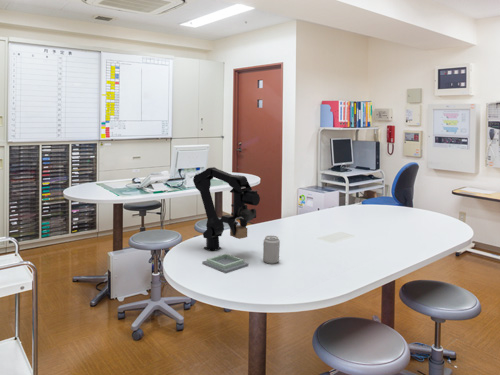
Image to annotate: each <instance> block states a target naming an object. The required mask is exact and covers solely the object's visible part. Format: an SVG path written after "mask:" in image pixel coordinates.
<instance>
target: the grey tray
mask: <svg viewBox="0 0 500 375" xmlns="http://www.w3.org/2000/svg"><path fill="white" fill-rule="evenodd" d="M201 262H202V263H201V264H202V265H204V266H207V267H210V268H211V269H214V270H217V271H219V272H222V273H224V274H228V273H230V272H234V271H237V270H240V269H243V268H246V267H249V263H248V262H245V260H244V259H243V258H239V257H237V256H234V255H233V254H229V253H222V254H220V255H217V256H213V257H209V258H207V259H206V260H204V261H201Z"/></svg>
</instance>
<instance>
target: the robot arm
mask: <svg viewBox="0 0 500 375" xmlns="http://www.w3.org/2000/svg"><path fill="white" fill-rule="evenodd" d="M214 178H215V179H217V180H219V181H221V182H224V183H226V184H228V185H229V187H231V188H232V189H231V190H229V193H232V197H233V198H232V200H233V201H232V204H231V205H230V206H231V207H232V212H230V214H231V215H230V214H224V215H221V217H220V218H219V217H218V215H217V212H216V211H217V210H216V207H215V204H214V201H213V197H212V193H211V190H210V189H211V186H212V185H211V180H213V179H214ZM192 182H193V184H194V186H195V188H196V189H197V190H198V191H199V193H200V196H201V201H202V204H203V207H204V211H205V215H206V218H207V221H206V225H205V226H206V230H204V232H203V233H202V236H203V238H204V239H206V240H205V241H206V242H205V246H204V247H203V249H205V250H208V251H210V252H213V251H217V250H220V249H222V247H221V246H220V237H222V236H223V232H224V231H225V224H227V225H228V226H229V228H230V229H231V231H232V233H233V235H236V225H240V226H243V227H246V228H247V225H248V224H249V222H250V221H253V220H254V219H256V218H257V210H256V208H251V209H249V208H248V205H251V206H255V207H256V206H258V205H259V203H260V200H261V197H260V195H259V194H258V190H253V188H252V187H251V185H250V183H249V181H248V178H247V176H244V175H241V174H231V173H229V172H226V171H224V170H221V169H218V168H216V167H214V166H213V167H208V168H206V169H205V170H203V171H201V172H199V173H197V174H195V175H194V176H193V178H192ZM237 220H239V222H237ZM224 223H225V224H224ZM238 223H239V224H238ZM230 229H229V230H230Z"/></svg>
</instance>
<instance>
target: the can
mask: <svg viewBox="0 0 500 375" xmlns="http://www.w3.org/2000/svg"><path fill="white" fill-rule="evenodd" d="M280 241H281V240H280V239H279V236H277V235H265V237H264V239H263V248H262V249H263V252H262V260H263V262H264V263H266V264H271V265H272V264H277V263H278V262H279V261H280V246H281V245H280V244H281V242H280Z"/></svg>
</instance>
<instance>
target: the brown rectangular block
mask: <svg viewBox="0 0 500 375" xmlns="http://www.w3.org/2000/svg"><path fill="white" fill-rule="evenodd" d="M229 235H230V236H231V237H233V238H234V239H235V238H236V239H239V240H241V239H244V238H248V227H247V226H246V227H243V226H240V224H237V225H236V235H233V233H232V231H231V229H229Z"/></svg>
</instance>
